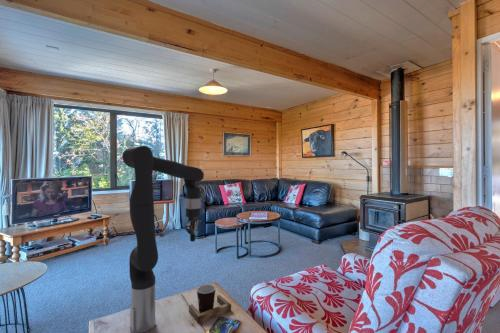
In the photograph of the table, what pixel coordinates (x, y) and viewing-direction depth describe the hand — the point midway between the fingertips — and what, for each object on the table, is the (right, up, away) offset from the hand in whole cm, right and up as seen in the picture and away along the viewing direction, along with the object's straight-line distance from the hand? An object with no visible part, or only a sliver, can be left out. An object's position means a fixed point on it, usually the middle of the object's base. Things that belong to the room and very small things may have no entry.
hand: (192, 241), depth 126 cm
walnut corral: (+11, -29, -13) cm, 33 cm away
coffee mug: (+9, -29, -10) cm, 32 cm away
